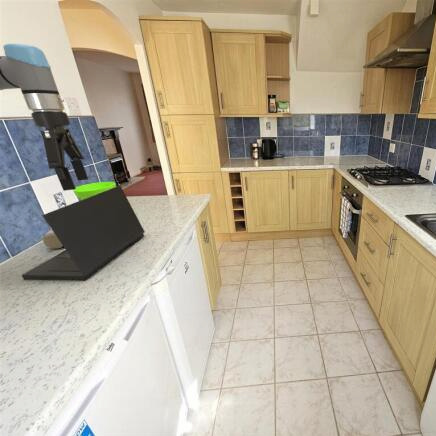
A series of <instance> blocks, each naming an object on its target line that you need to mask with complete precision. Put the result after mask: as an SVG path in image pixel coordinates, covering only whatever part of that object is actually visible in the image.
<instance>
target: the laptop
mask: <svg viewBox="0 0 436 436" xmlns="http://www.w3.org/2000/svg"><path fill="white" fill-rule="evenodd" d="M144 237H145V233H143V234H142V235H140V236H139V237H138V238H136V239H135V240H134V241H132V242H131V243H130V244H128V245H127V246H125V247H124V248H123V249H121V250H120V251H119V252H117V253H116V254H115V255H113V256H112V257H110V258H109V259H108V260H106V261H105V262H104V263H102V264H101V265H100V266H98V267H97V268H95V269H94V270H93V271H91V272H90V273H89V274H87V275H86V276H83V274H82V273H81V271H80V270H79V268H78V267H77V265H76V264H75V263H74V261H73V260H72V258H71V257H70V255H69V254H68V252H67V251H66V250H65V249H64V250H63V251H61V252H60V253H57V254H56V255H53V256H52V257H51V258H49V259H47V260H45V261H43V262H42V263H40V264H38V265H36V266H35V267H33V268H31V269H29V270H28V271H26V272H24V273H23V274H21V277H22V279H23V280H24V281H25V280H26V281H71V282H72V281H73V282H74V281H76V282H79V281H80V282H86V281H87V280H89V279H90V278H91V277H92V276H94V275H96V274H97V273H98V272H99V271H101V270H102V269H103V268H105V267H106V266H107V265H108V264H110V263H111V262H112V261H114V260H115V259H117V258H118V257H119V256H120V255H122V254H123V253H125V252H126V251H127V250H128V249H129V248H131V247H132V246H134V245H135V244H136V243H138V242H139V241H140V240H141V239H143V238H144Z"/></svg>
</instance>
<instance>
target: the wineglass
mask: <svg viewBox="0 0 436 436" xmlns="http://www.w3.org/2000/svg"><path fill="white" fill-rule="evenodd" d="M114 187H117V184H116V182H114V181H101V182H93V183H87V184H83V185H78V186H75V188H76V189H74V190H72V191H73V193H74V195H75V196H76V197H77V198H78V199H79V200H83V199H86V198H88V197H91V196H93V195H96V194H99V193H101V192H104V191H106V190H109V189H112V188H114Z"/></svg>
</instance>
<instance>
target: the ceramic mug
mask: <svg viewBox="0 0 436 436" xmlns="http://www.w3.org/2000/svg"><path fill="white" fill-rule="evenodd" d="M42 242H43V244H44V246H46V247H47V248H49V249H56V250H57V249H61V248H64V247H63V245H62V244H61V242H60V241H59V239H58V238H57V236H56V235H55V234H54V232H53V231H52V229H51V228H50V229H49V231H47V232H46V233H45V234H44V236H43V238H42Z"/></svg>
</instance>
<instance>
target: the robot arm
mask: <svg viewBox="0 0 436 436" xmlns="http://www.w3.org/2000/svg"><path fill="white" fill-rule="evenodd" d="M2 49H3V50H4V55H0V91H5V90H13V89H15V90H16V89H20V91H21V94H22V96H23V100H24V101H25V104H26V106H27V109H28V110H29V111H32V112H31V118H32V120H33V121H34V125H35V126H36V127H37V128H45V130H40V134H41V138H42V140H43V141H42V142H43V145H44V150H45V155H46V160H47V166H48V169H50V170H51V169H53V170H54V172H55V174H56V176H57V179H58V181H59V183H60V185H61V188H62V190H63V192H65V191H73V190H74V189H76V186H75V183H74V180H73V178H72V175H71V173H70V171H69V167H68V166H66V160H65V153H66V155H67V156H68V157H69V159H70V164H71V166H72V169H73V171H74V174H75V177H76V179H77V181H86V180H87V181H88V180H89V176H88V174H87V171H86V168H85V166H84V164H83V163H84V162H83V161H82V160H85V157H84V155H83V153H82V152H81V150H80V149H79V147H78V145H77V143H76V141H75V139H74V138H73V136H72V133H71V130H70V128H65V127H67V126H68V127H69V126H71V121H70V118H69V116H68V114H67V112H66V111H64V110H65V109H66V108H65V106H64V102H65V99H64V98H62V97H61V95H60V93H59V92H60V91H59V89H58V86H57V84H56V81H55V78H54V75H53V72H52V67H51V65H50V63H49V61H48V59H47V56H46V55H45V52H44V51H43V50H42V49H40V48H39V47H37V46H34V45H28V44H22V43H6V44H4V45H3V48H2Z"/></svg>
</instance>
